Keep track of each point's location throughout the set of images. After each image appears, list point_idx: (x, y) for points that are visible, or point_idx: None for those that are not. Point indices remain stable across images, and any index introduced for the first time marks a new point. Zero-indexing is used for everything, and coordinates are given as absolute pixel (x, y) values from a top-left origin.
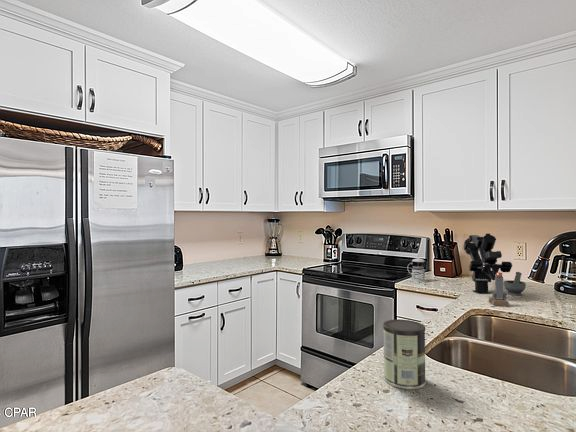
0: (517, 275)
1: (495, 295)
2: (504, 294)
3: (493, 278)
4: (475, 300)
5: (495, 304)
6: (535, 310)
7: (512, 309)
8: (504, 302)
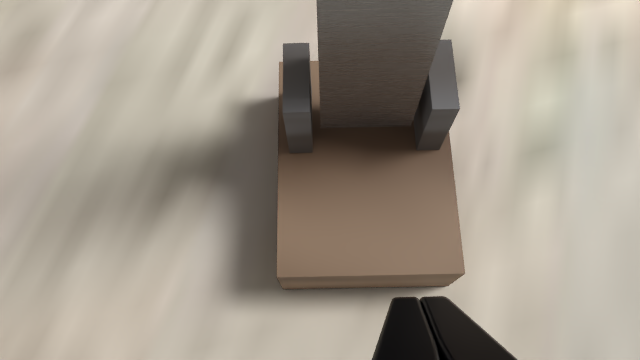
0: None
1: None
2: (308, 43)
3: (440, 303)
4: (608, 355)
5: None
6: (75, 17)
7: (282, 3)
8: None
